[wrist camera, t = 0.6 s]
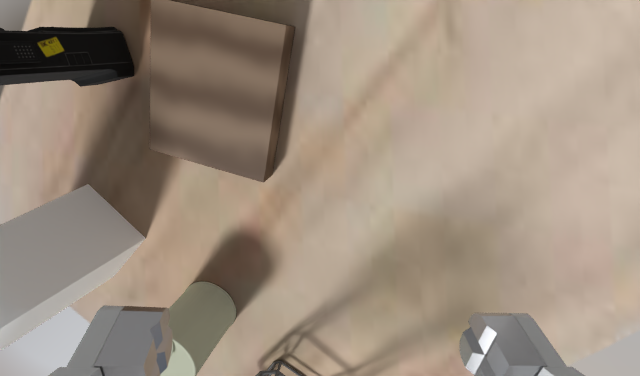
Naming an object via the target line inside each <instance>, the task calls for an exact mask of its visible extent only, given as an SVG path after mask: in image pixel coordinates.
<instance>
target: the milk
mask: <svg viewBox="0 0 640 376" xmlns="http://www.w3.org/2000/svg"><path fill="white" fill-rule="evenodd" d="M145 239H146V238H145V237H144V236H143V235H142V234H141V233H140V232H139V231H138V230H136V229H135V228H134V227H133V226H132V225H131V224H130V223H129V222H128V221H127V220H126V219H125V218H124V217H123V216H122V215H121V214H120V213H118V212H117V211H116V210H115V209H114V208H113V207H112V206H111V205H110V204H109V203H108V202H107V201H106V200H105V199H104V198H103V197H102V196H100V195H99V194H98V193H97V192H96V191H95V190H94V189H93V188H92V187H91V186H90V185H89V184H87V185H85V186H83V187H80V188H78V189H76V190H74V191H72V192H70V193H68V194H65V195H63V196H61V197H59V198H57V199H55V200H53V201H51V202H48V203H46V204H44V205H42V206H40V207H38V208H36V209H33V210H31V211H29V212H27V213H25V214H23V215H21V216H19V217H16V218H14V219H12V220H10V221H8V222H6V223H4V224H1V225H0V351H1V350H3V349H4V348H6V347H7V346H9V345H10V344H12V343H13V342H15V341H16V340H18V339H19V338H21V337H23V336H24V335H26V334H27V333H29V332H30V331H32V330H33V329H35V328H36V327H38V326H39V325H41V324H42V323H44V322H45V321H47V320H48V319H50V318H51V317H53V316H55V315H56V314H58V313H59V312H61V311H62V310H64V309H65V308H67V307H68V306H70V305H71V304H73V303H74V302H76V301H77V300H79V299H80V298H82V297H83V296H85V295H87V294H88V293H90V292H91V291H93V290H94V289H96V288H97V287H99V286H100V285H102V284H103V283H105V282H106V281H108V280H109V279H111V278H112V277H114V276H115V275H116V273H117V272H118V271H119V270H120V269H121V267H122V266H123V265H124V264H125V263H126V261H127V260H128V259H129V258H130V257H131V255H132V254H133V253H134V252H135V251H136V249H137V248H138V247H139V246H140V245H141V243H142V242H143V241H144V240H145Z"/></svg>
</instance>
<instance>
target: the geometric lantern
mask: <svg viewBox="0 0 640 376" xmlns="http://www.w3.org/2000/svg"><path fill="white" fill-rule="evenodd" d="M278 363H279V366H278V369H277V370H274V367H275V365H276V364H278ZM281 364H282V365H284V366H285V367H287V368H288V369H289V370H291V371H292V372H294V373H295V374H297V375H298V376H302V375H301V374H299V373H298V372H297V371H295V370H294V369H292V368H291V367H289V366H288V365H287V364H285V363H284V362H282V361H281V360H280V361H275V362H273V363H272V365H271V366H270V367H269V368H268V369H267V371H260V372H259V373H258V374H257V375H256V376H265V375H268V374H269V375H268V376H271V375H272V374H275V376H285V375H284V374H282V373H281V372H280V371H279V370H280V367H281ZM271 368H272V369H271ZM270 369H271V370H270Z"/></svg>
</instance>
